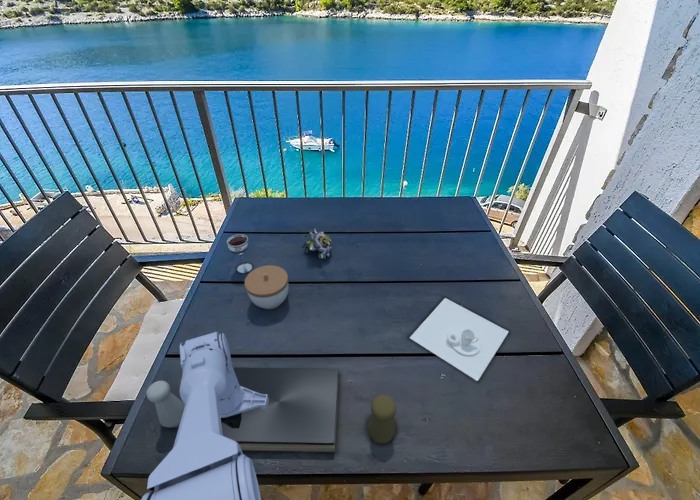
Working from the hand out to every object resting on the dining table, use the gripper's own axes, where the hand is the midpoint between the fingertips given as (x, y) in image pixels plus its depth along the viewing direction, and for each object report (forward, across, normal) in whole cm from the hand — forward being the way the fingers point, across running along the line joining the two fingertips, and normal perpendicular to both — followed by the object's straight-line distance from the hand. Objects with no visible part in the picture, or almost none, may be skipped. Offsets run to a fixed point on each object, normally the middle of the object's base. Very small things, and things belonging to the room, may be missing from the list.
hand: (237, 423), depth 68 cm
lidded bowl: (+11, +3, -42) cm, 44 cm away
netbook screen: (+8, -6, -8) cm, 13 cm away
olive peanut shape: (+11, -29, -4) cm, 31 cm away
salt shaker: (+11, +18, -6) cm, 21 cm away
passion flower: (+11, -9, -65) cm, 67 cm away
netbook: (+10, -6, -8) cm, 14 cm away
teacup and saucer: (+11, -52, -30) cm, 61 cm away
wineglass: (+11, +15, -57) cm, 60 cm away
